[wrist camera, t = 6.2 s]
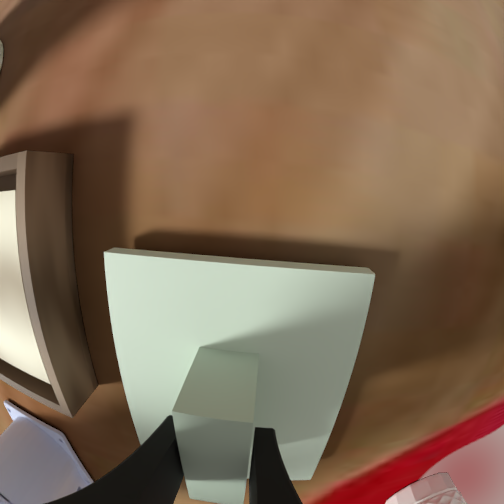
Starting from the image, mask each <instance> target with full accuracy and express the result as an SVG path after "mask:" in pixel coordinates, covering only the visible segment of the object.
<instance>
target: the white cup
mask: <svg viewBox="0 0 504 504" xmlns="http://www.w3.org/2000/svg"><path fill="white" fill-rule="evenodd" d="M385 504H467V503H466V501H465V500H464V498H463V497H462V495H461V493H460V492H459V491H457V488H456V487H455V485H454V483H453V481H452V479H451V478H450V476H449V474H448V473H447V472H446V473H437V474H434V475H431V476H428V477H425V478H423V479H421V480H419V481H416V482H414V483H412V484H410V485H408V486H407V487H405V488H403V489H402V490H400V491H398V492H397V493H395V494H394V495H393V496H391V497H390V498H389V499H388V500H387V501H386V502H385Z"/></svg>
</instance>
